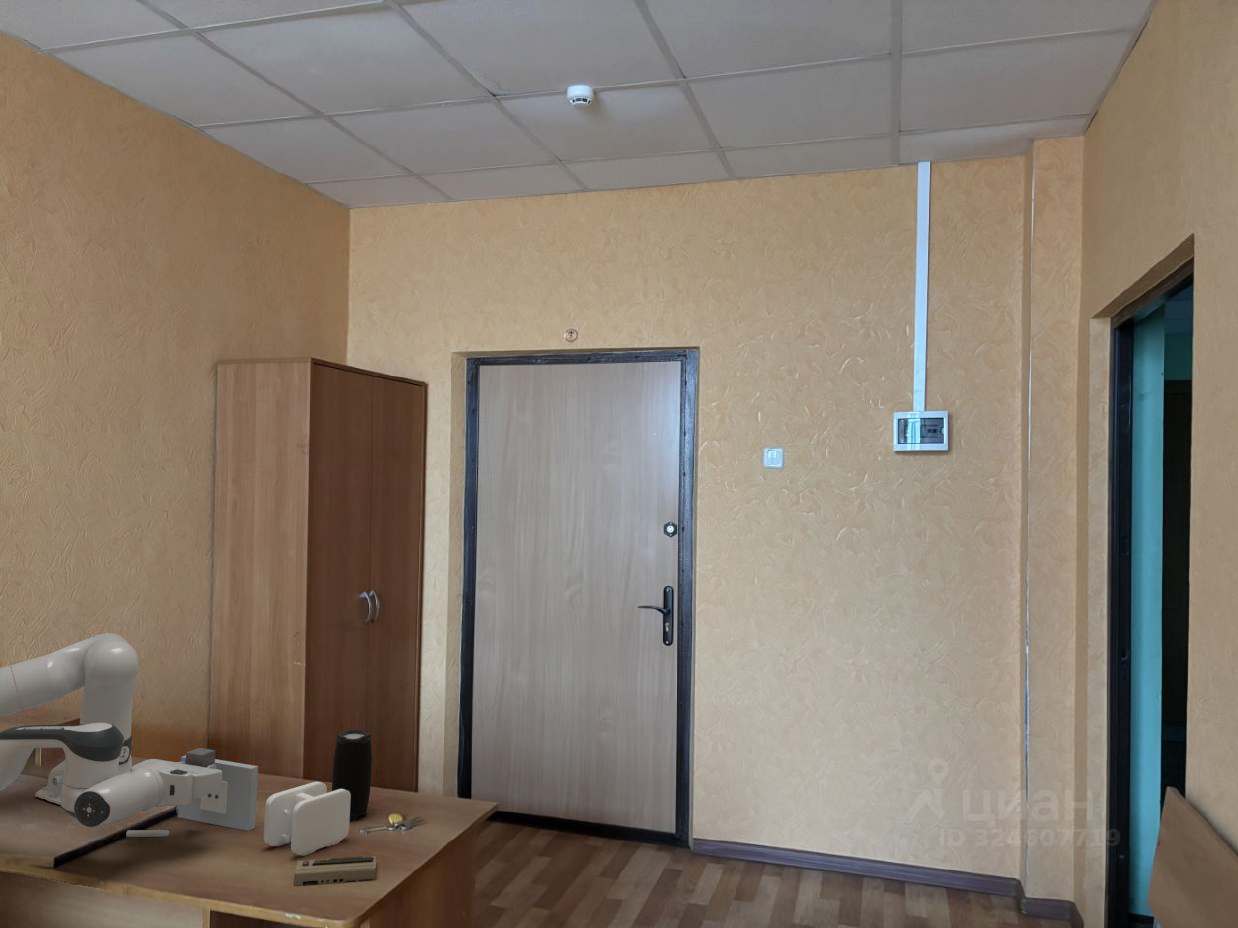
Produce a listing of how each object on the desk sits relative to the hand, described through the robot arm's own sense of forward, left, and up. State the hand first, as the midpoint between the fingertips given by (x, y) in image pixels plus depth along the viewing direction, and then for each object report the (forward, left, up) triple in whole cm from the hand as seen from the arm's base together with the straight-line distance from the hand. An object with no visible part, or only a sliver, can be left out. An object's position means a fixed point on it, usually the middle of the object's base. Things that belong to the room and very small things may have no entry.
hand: (203, 765), depth 201 cm
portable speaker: (+25, +21, -15) cm, 36 cm away
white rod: (-8, -7, -15) cm, 18 cm away
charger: (0, -1, -6) cm, 6 cm away
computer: (+41, -7, -15) cm, 44 cm away
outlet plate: (0, +5, -15) cm, 16 cm away
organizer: (+26, +3, -15) cm, 30 cm away
